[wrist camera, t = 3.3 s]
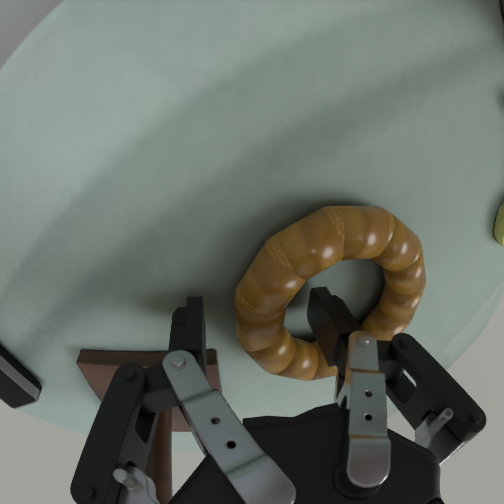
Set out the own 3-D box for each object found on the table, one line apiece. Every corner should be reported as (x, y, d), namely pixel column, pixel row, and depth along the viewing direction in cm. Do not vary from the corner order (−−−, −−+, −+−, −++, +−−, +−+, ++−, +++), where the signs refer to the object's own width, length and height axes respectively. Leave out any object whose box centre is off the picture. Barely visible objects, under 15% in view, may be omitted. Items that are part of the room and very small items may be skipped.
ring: (230, 200, 12) (235, 220, 10) (426, 202, 13) (454, 218, 11) (235, 367, 17) (239, 397, 15) (382, 343, 18) (396, 366, 16)
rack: (80, 349, 15) (39, 539, 3) (216, 349, 16) (246, 576, 4) (122, 417, 19) (115, 553, 7) (224, 418, 20) (246, 562, 8)
